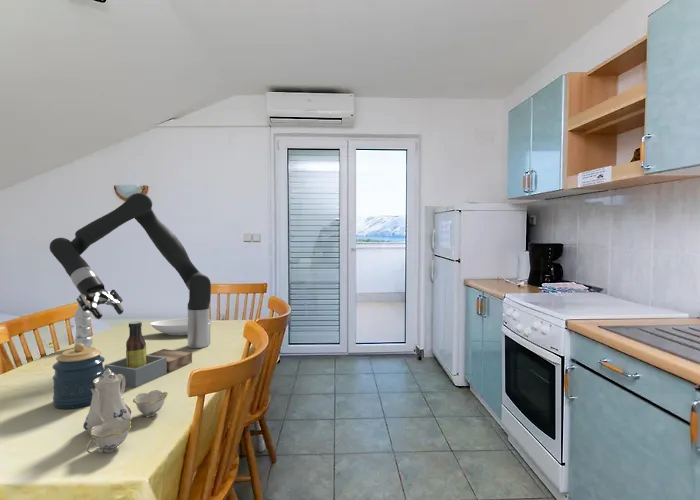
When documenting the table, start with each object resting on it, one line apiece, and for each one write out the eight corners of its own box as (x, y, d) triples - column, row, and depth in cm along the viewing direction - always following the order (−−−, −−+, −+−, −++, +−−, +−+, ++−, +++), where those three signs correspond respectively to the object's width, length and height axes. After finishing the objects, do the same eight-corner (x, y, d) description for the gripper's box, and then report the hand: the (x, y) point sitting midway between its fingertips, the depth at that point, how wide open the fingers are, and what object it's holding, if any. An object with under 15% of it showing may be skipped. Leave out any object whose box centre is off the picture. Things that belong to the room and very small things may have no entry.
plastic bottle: (83, 350, 166) (83, 304, 165) (70, 349, 167) (70, 303, 166) (96, 346, 172) (95, 302, 171) (83, 345, 174) (83, 301, 173)
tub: (137, 369, 144) (137, 353, 144) (166, 373, 140) (166, 357, 140) (104, 382, 131) (104, 365, 131) (135, 387, 127) (135, 369, 127)
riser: (163, 358, 157) (163, 348, 157) (191, 362, 153) (191, 352, 152) (139, 368, 145) (139, 357, 145) (169, 372, 141) (169, 361, 141)
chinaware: (123, 467, 87) (130, 395, 86) (45, 462, 85) (53, 389, 85) (171, 410, 114) (177, 356, 114) (113, 406, 113) (119, 351, 113)
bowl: (214, 328, 207) (214, 317, 207) (211, 335, 193) (211, 324, 193) (153, 331, 200) (153, 320, 199) (146, 339, 185) (146, 326, 185)
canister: (48, 413, 108) (47, 352, 107) (58, 396, 119) (57, 340, 119) (102, 404, 114) (102, 346, 113) (107, 389, 125) (106, 336, 125)
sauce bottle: (150, 376, 137) (150, 321, 136) (134, 382, 131) (134, 325, 131) (138, 373, 140) (138, 319, 139) (122, 379, 134) (121, 323, 133)
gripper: (73, 277, 133) (98, 312, 130) (110, 273, 147) (133, 305, 144) (62, 291, 135) (87, 326, 132) (99, 286, 149) (122, 318, 146)
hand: (111, 315), depth 138 cm, fingers open, 8 cm apart
